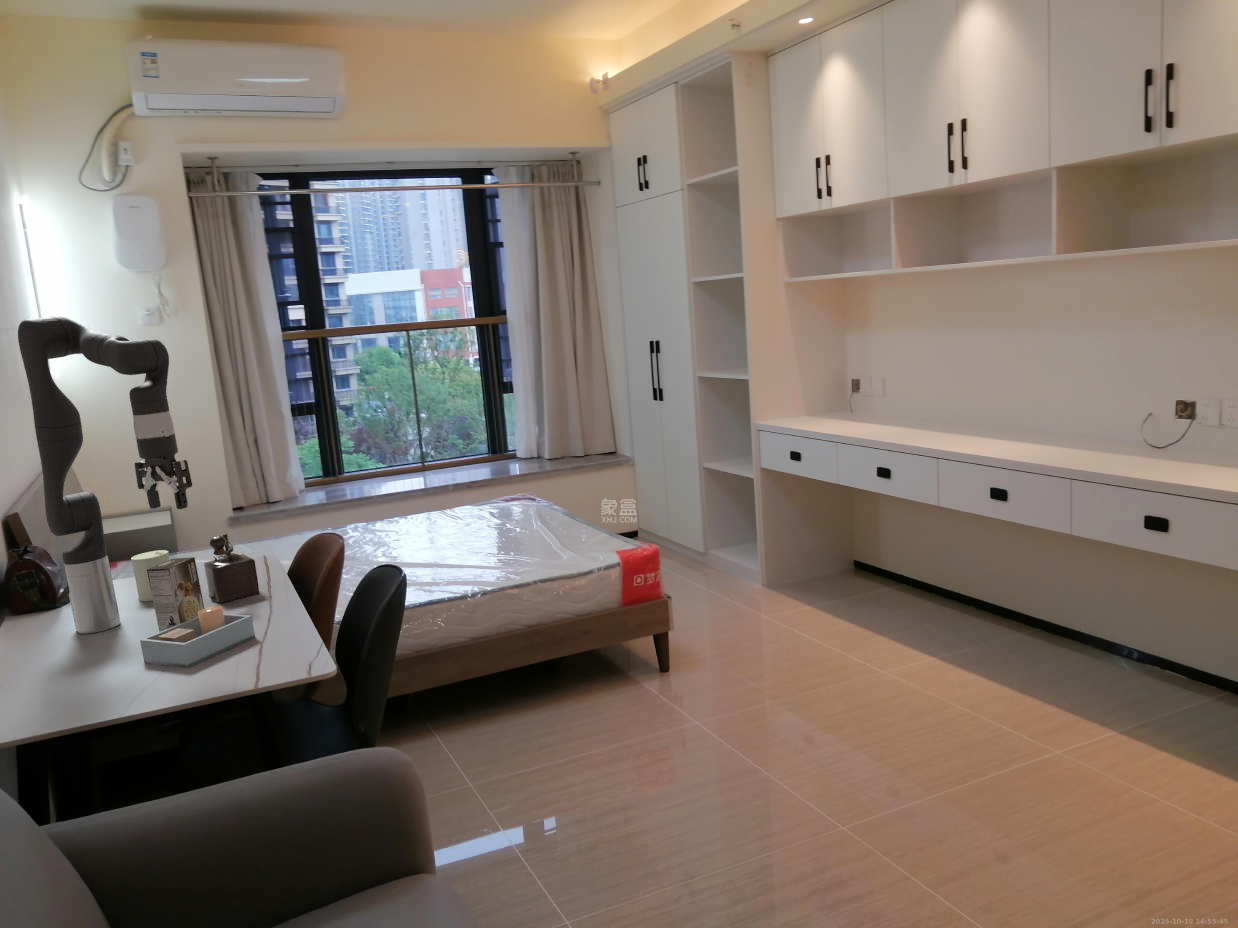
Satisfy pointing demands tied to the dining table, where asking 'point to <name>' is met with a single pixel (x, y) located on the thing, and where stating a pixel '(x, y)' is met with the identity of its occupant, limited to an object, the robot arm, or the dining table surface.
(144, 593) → the can
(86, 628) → the robot arm
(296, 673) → the dining table surface
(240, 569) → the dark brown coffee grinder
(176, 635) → the walnut cube
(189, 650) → the tote
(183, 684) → the dining table surface
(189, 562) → the coffee box
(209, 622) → the peach rounded cylinder
